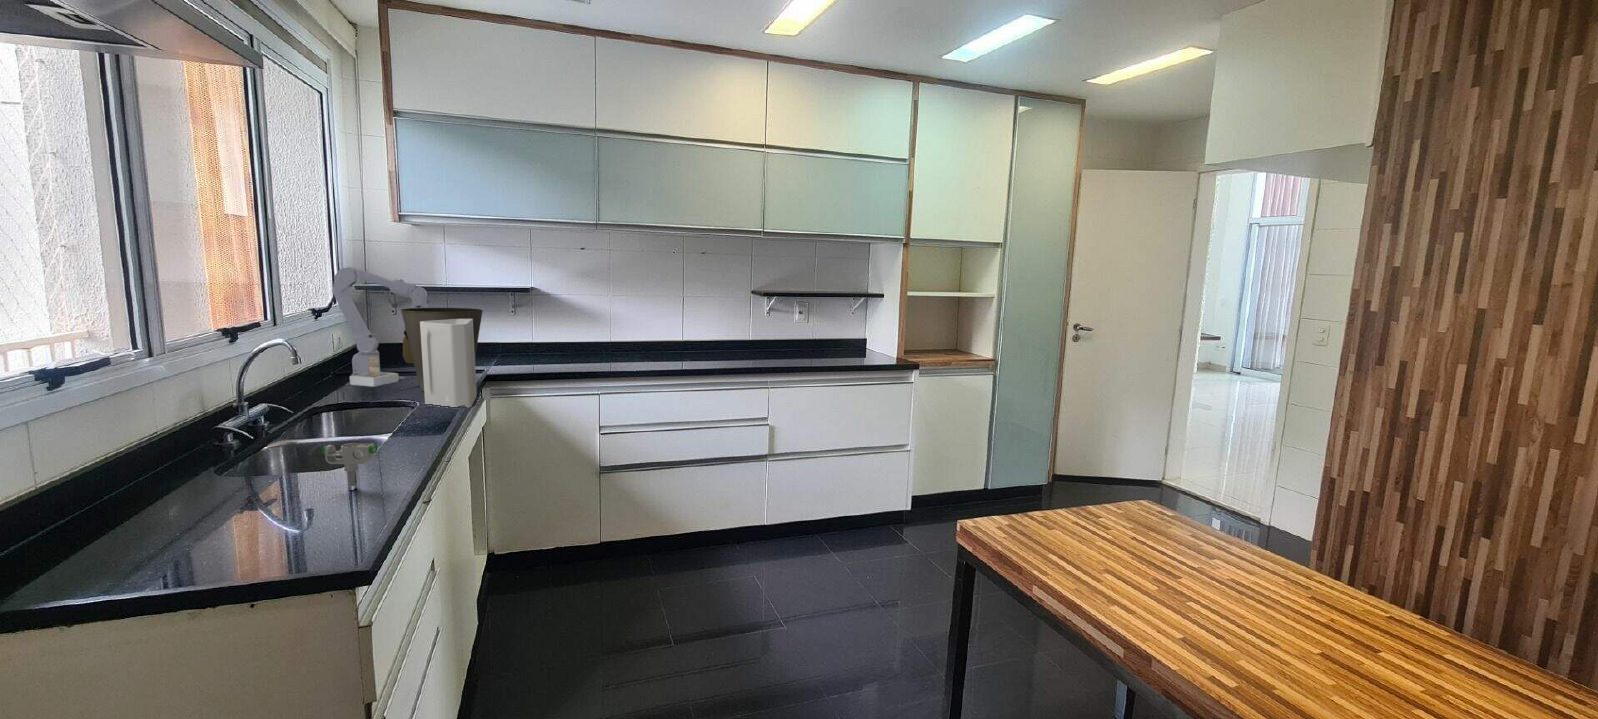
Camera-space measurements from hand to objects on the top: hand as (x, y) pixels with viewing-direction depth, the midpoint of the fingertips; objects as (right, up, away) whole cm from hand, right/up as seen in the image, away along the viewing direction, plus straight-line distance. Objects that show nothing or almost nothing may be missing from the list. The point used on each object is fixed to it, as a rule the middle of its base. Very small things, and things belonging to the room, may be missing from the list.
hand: (422, 348), depth 274 cm
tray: (-3, -14, -26) cm, 30 cm away
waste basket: (+26, -16, -29) cm, 42 cm away
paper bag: (+39, -20, -51) cm, 67 cm away
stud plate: (-3, -13, -15) cm, 20 cm away
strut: (-3, -14, -26) cm, 29 cm away
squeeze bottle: (-18, -6, +24) cm, 31 cm away
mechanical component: (+62, -33, -133) cm, 150 cm away
